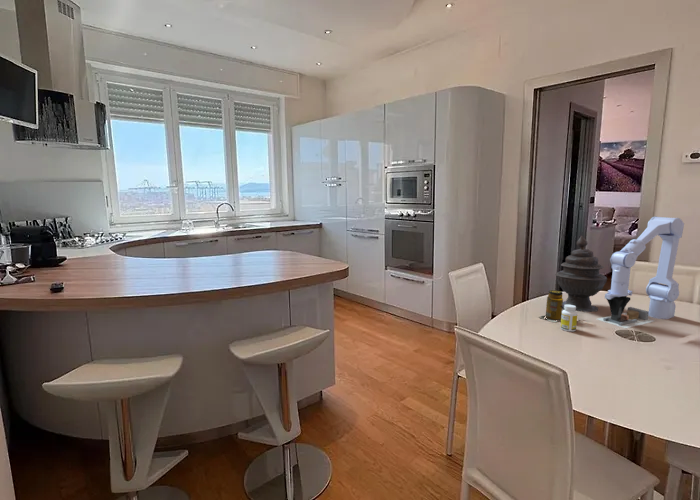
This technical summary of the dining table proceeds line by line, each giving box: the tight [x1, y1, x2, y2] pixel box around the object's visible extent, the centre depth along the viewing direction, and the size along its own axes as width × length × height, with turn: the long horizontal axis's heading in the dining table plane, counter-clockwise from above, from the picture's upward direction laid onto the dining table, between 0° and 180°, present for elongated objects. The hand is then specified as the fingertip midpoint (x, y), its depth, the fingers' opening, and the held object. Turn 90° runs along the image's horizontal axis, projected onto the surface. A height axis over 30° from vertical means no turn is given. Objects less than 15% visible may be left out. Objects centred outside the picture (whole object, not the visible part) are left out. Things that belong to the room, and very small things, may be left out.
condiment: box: [538, 289, 564, 323], centre depth 163 cm, size 7×8×12 cm
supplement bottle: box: [560, 304, 578, 333], centre depth 150 cm, size 5×5×10 cm
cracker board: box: [596, 306, 656, 329], centre depth 158 cm, size 20×12×5 cm, turn 114°
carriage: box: [608, 307, 629, 324], centre depth 155 cm, size 6×4×6 cm
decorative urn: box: [555, 235, 608, 313], centre depth 174 cm, size 20×20×35 cm
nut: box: [626, 310, 639, 320], centre depth 159 cm, size 4×4×3 cm
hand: (616, 314), depth 155 cm, fingers closed on carriage, 2 cm apart
